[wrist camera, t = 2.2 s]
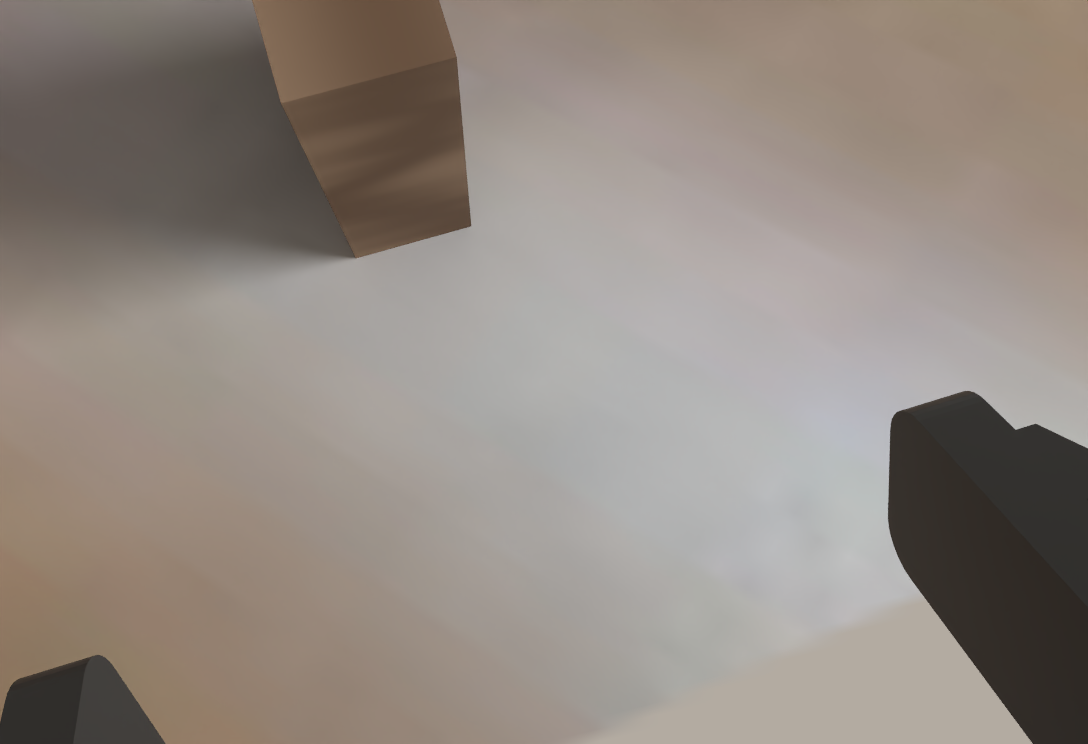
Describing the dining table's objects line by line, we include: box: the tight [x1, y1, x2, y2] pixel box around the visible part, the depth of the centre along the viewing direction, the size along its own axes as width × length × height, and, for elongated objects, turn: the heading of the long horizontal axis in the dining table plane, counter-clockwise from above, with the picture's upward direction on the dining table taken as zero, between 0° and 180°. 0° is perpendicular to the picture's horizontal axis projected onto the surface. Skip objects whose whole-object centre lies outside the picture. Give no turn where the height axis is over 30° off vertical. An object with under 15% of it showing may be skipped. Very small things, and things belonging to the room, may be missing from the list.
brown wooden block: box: [252, 0, 471, 258], centre depth 22 cm, size 3×6×9 cm, turn 17°
